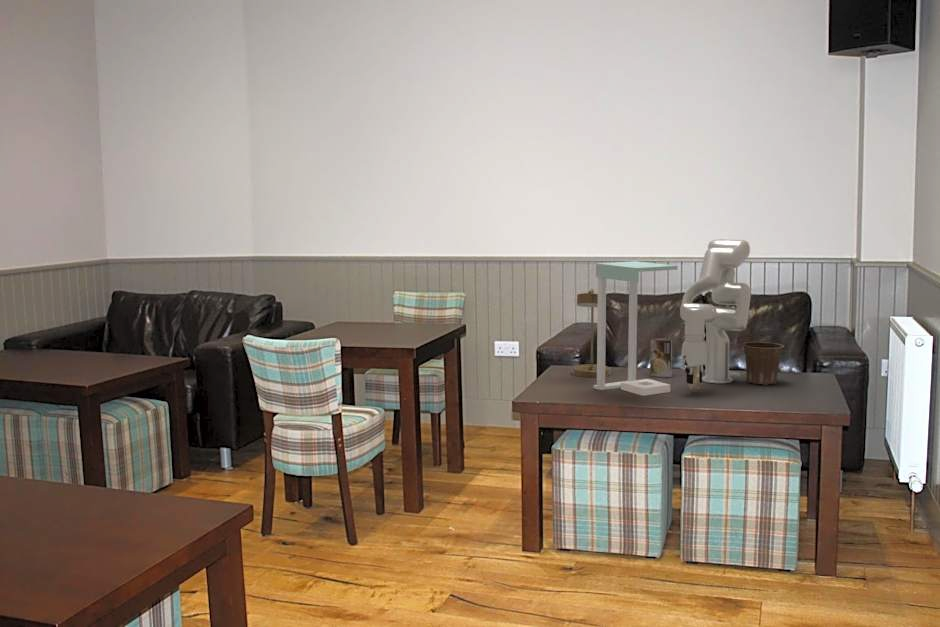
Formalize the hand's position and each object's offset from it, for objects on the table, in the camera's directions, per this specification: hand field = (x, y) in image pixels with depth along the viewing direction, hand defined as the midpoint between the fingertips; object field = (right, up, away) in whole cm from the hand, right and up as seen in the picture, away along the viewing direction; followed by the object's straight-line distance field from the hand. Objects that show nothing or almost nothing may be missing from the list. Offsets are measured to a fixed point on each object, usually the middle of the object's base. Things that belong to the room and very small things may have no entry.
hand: (694, 382), depth 388 cm
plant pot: (+33, -2, +20) cm, 39 cm away
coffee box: (-6, 0, +36) cm, 37 cm away
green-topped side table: (-24, -4, +4) cm, 24 cm away
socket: (-19, -4, +5) cm, 20 cm away
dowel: (0, -2, 0) cm, 2 cm away
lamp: (-37, 0, +37) cm, 52 cm away
